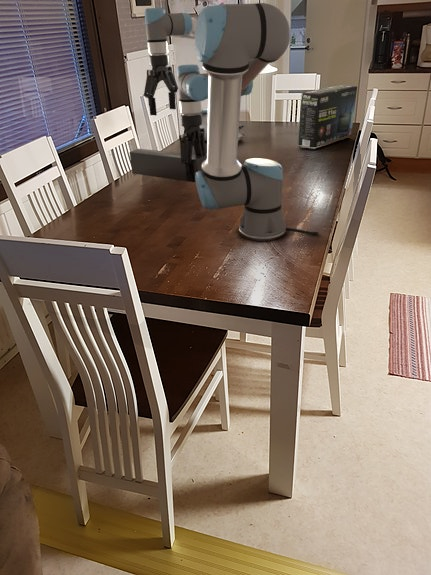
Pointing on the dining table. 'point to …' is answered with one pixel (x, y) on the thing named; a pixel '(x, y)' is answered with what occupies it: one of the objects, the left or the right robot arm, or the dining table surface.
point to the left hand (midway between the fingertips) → (163, 112)
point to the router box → (326, 115)
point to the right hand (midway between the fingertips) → (195, 178)
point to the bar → (163, 164)
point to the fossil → (240, 135)
